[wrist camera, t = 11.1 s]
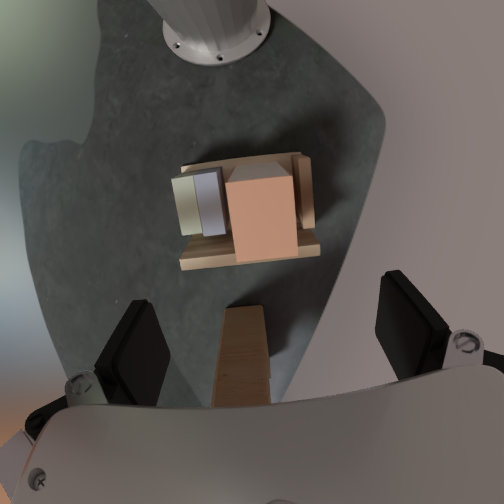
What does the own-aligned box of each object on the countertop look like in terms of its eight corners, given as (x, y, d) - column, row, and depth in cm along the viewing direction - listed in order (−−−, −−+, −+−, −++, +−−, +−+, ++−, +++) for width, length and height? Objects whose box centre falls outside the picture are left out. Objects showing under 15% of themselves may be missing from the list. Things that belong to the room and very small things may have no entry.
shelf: (181, 166, 32) (162, 176, 25) (300, 151, 32) (314, 156, 24) (195, 242, 36) (181, 270, 29) (306, 229, 35) (320, 255, 28)
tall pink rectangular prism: (234, 165, 32) (225, 182, 21) (277, 161, 32) (292, 175, 21) (241, 219, 34) (236, 262, 23) (283, 215, 34) (298, 255, 23)
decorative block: (269, 359, 44) (276, 470, 26) (234, 361, 44) (227, 471, 26) (264, 303, 40) (271, 425, 21) (223, 306, 40) (206, 427, 22)
